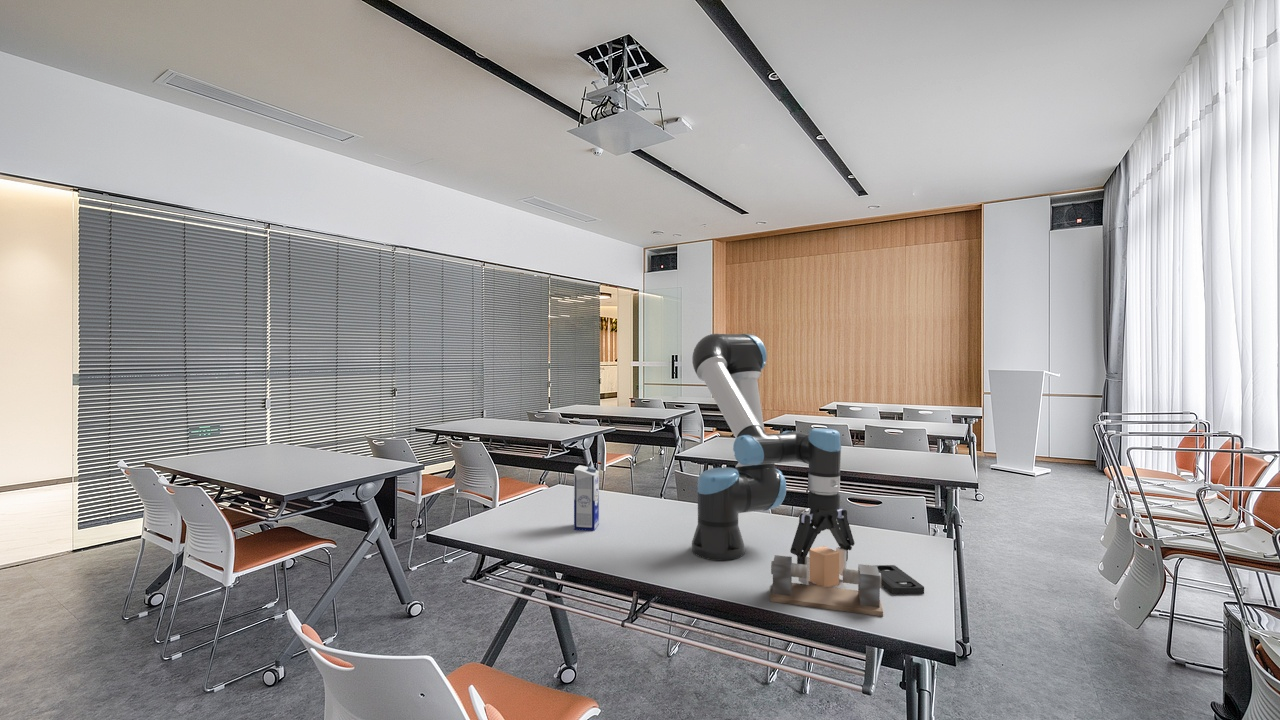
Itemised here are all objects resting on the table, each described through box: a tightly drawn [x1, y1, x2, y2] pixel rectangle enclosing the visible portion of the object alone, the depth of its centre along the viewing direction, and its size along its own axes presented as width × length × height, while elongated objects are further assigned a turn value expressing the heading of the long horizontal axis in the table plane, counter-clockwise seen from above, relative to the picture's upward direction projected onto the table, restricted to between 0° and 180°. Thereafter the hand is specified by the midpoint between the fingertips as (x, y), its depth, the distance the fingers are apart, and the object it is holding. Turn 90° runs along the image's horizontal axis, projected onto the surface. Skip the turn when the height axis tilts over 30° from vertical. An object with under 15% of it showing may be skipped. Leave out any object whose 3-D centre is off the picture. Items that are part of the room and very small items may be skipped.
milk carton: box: [573, 464, 600, 532], centre depth 183 cm, size 7×7×20 cm
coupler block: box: [808, 545, 840, 588], centre depth 138 cm, size 5×5×8 cm
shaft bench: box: [769, 554, 884, 617], centre depth 129 cm, size 24×10×8 cm, turn 72°
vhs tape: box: [873, 564, 925, 595], centre depth 139 cm, size 14×8×2 cm, turn 3°
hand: (822, 578), depth 138 cm, fingers open, 12 cm apart
